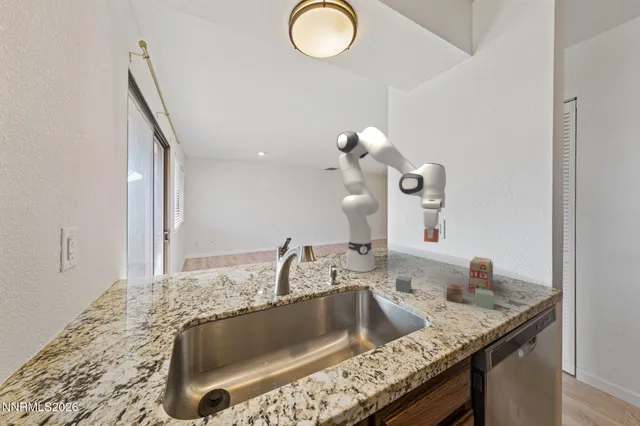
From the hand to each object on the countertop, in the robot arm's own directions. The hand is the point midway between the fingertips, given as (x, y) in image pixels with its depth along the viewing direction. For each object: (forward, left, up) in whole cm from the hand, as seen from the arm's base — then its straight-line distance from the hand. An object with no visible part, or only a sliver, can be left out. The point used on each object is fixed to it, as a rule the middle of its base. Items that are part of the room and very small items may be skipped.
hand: (431, 237), depth 97 cm
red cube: (0, 0, -2) cm, 2 cm away
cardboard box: (-1, +25, -22) cm, 34 cm away
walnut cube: (+11, +3, -22) cm, 24 cm away
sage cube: (+16, +10, -22) cm, 29 cm away
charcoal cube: (0, -11, -22) cm, 25 cm away
